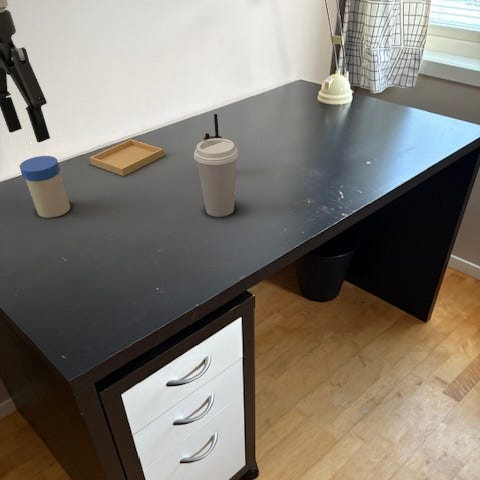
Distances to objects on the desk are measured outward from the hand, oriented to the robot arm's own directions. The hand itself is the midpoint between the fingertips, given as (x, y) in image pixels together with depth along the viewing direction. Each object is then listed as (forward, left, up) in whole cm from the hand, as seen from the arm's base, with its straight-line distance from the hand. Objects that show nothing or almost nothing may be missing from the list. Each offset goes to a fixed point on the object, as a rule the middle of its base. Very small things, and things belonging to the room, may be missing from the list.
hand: (29, 135), depth 101 cm
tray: (-6, +29, -18) cm, 35 cm away
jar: (0, 0, -18) cm, 18 cm away
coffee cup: (+33, +22, -18) cm, 43 cm away
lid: (0, 0, -7) cm, 7 cm away
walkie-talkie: (+20, +36, -18) cm, 45 cm away
